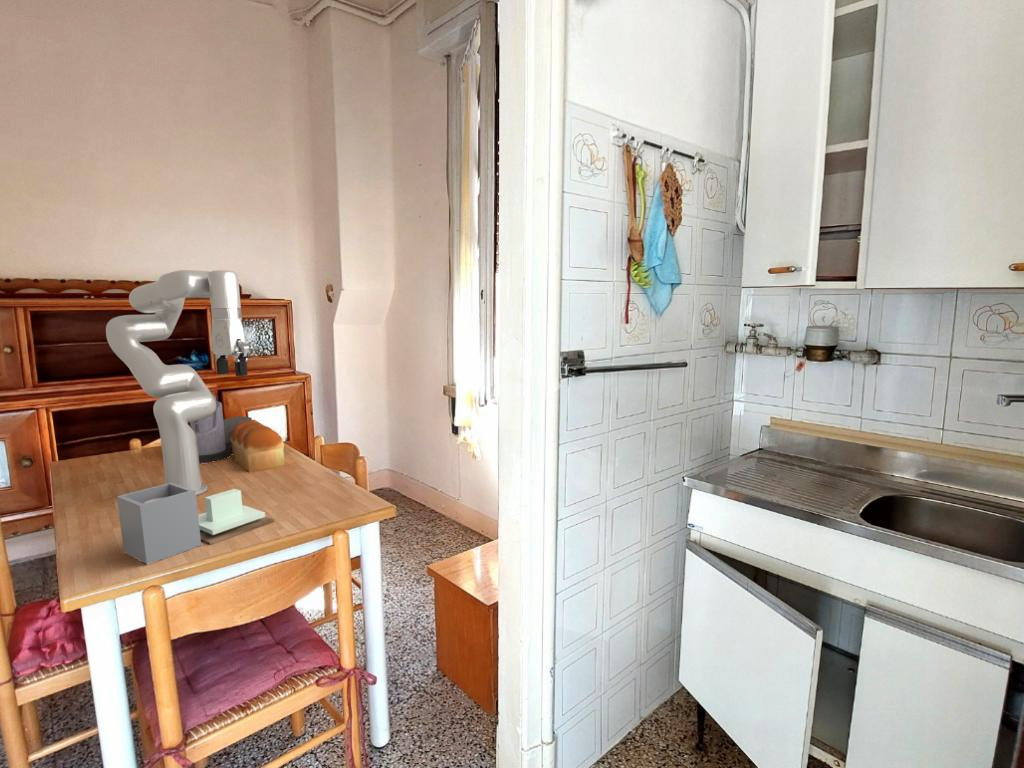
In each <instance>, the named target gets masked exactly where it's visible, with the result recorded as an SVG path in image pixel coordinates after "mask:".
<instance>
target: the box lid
mask: <svg viewBox="0 0 1024 768" xmlns="http://www.w3.org/2000/svg"><path fill="white" fill-rule="evenodd" d="M242 498H243V497H242V490H241V489H236V488H232V489H229V490H226V491H222V492H219V493H215V494H212V495H209V496H205V497H204V503H205V504H204V505H205V512H203V513H200V514H199V513H198V519H199V529H200V530H202V531H205V532H207V533H209V534H212V535H214V534H217V533H220V532H223V531H226V530H229V529H232V528H234V527H237V526H240V525H243V524H246V523H249V522H252V521H254V520H257V519H260V518H263V517H266V512H265V511H262V510H260V509H259V510H258V509H256V508H253V507H251V506H247V505H243V500H242Z"/></svg>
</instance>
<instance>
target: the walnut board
mask: <svg viewBox="0 0 1024 768" xmlns="http://www.w3.org/2000/svg"><path fill="white" fill-rule="evenodd" d="M272 523H275V519H274V518H271V517H267V516H265V517H263V518H260V519H257V520H254V521H252V522H249V523H246V524H243V525H240V526H237V527H234V528H232V529H229V530H226V531H223V532H220V533H217V534H214V535H212V534H209V533H207V532H205V531H202V530H200V538H201V540H203V541H205V542H207V543H206V544H208V543H209V544H208V545H210V544H212V543H214V544H217V543H220V542H223V541H225V540H228V539H231V538H233V537H236V536H238V535H241V534H243V533H247V532H251V531H253V530H255V528H256V529H258V528H260V527H264V526H266V525H269V524H272ZM222 540H223V541H222ZM203 541H202V542H203ZM205 542H204V543H205ZM216 542H217V543H216ZM212 545H213V544H212Z"/></svg>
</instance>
